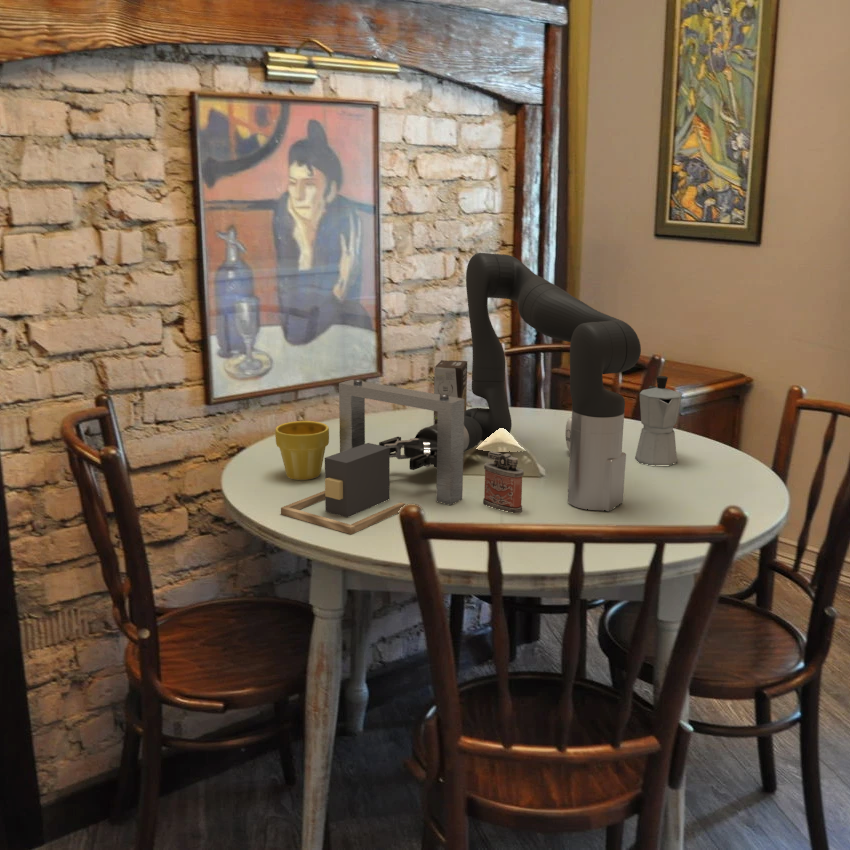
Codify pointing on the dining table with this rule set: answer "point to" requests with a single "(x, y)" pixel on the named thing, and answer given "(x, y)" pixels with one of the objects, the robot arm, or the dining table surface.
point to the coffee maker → (658, 424)
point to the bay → (295, 512)
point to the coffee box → (451, 381)
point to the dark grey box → (357, 479)
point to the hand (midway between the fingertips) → (392, 460)
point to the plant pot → (302, 448)
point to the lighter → (503, 483)
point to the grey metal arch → (446, 406)
